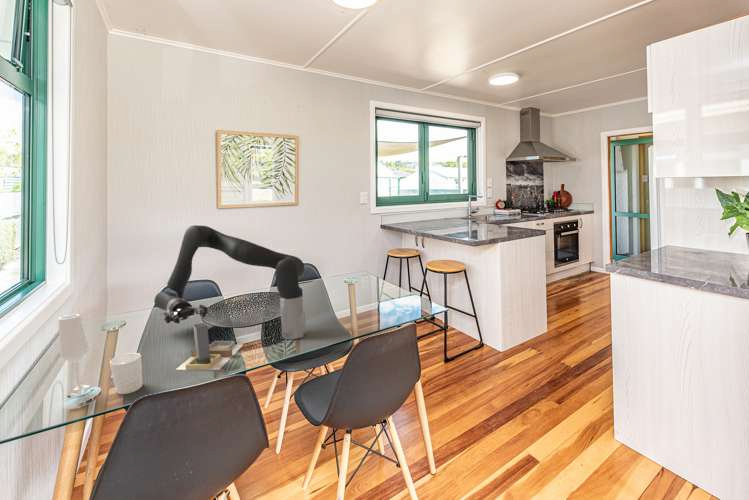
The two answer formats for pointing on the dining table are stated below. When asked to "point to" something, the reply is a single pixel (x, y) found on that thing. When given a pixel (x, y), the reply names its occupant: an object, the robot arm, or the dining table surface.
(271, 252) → the robot arm
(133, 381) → the white cup
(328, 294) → the dining table surface
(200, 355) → the bar
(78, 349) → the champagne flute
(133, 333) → the dining table surface
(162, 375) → the dining table surface
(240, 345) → the white board with frames
